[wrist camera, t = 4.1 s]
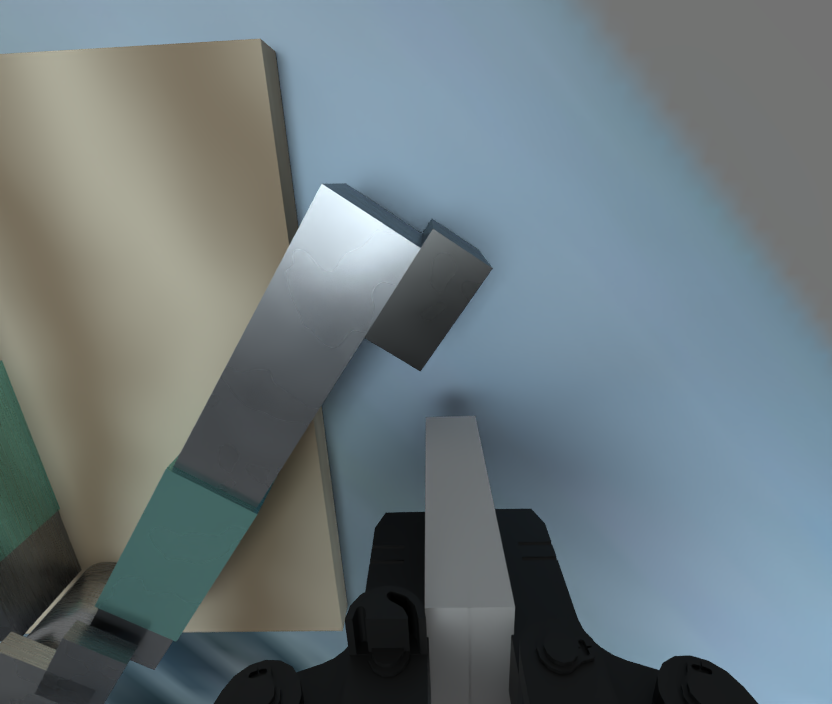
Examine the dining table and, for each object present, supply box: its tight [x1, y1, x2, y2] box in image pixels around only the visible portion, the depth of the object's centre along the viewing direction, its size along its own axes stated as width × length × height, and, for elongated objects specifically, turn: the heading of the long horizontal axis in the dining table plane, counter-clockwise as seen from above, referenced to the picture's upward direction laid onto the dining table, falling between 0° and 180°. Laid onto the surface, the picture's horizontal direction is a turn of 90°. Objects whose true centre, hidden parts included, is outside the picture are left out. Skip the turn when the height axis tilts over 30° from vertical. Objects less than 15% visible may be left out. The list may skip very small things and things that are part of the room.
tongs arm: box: [0, 183, 493, 704], centre depth 14 cm, size 6×21×4 cm, turn 147°
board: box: [0, 39, 347, 634], centre depth 16 cm, size 17×21×1 cm
